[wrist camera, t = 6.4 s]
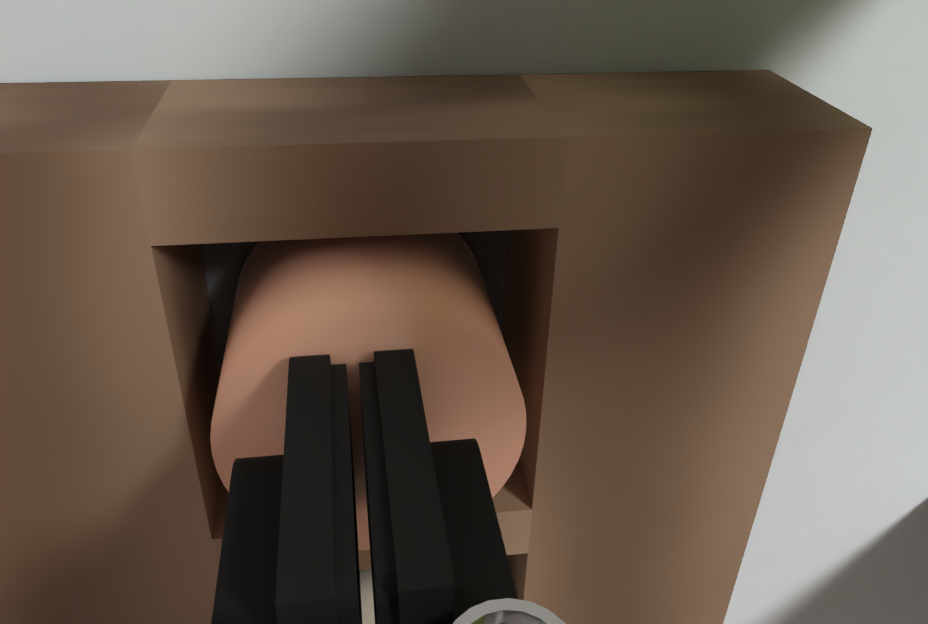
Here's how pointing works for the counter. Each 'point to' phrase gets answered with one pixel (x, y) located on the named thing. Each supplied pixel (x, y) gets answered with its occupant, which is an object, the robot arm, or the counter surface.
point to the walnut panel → (405, 213)
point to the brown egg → (368, 345)
